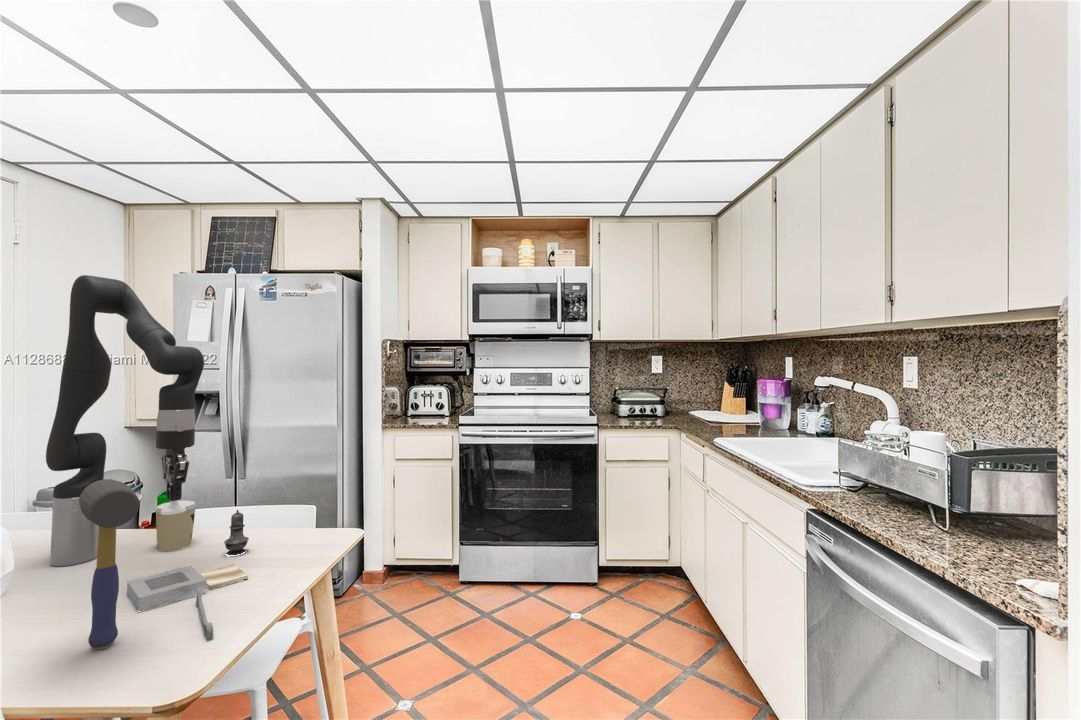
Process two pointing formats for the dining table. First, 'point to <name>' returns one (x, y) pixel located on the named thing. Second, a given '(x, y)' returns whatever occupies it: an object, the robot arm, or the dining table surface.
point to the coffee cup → (175, 527)
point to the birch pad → (223, 576)
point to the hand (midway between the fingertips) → (173, 499)
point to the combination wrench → (204, 617)
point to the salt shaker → (236, 535)
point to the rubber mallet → (106, 552)
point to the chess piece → (173, 508)
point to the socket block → (165, 587)
